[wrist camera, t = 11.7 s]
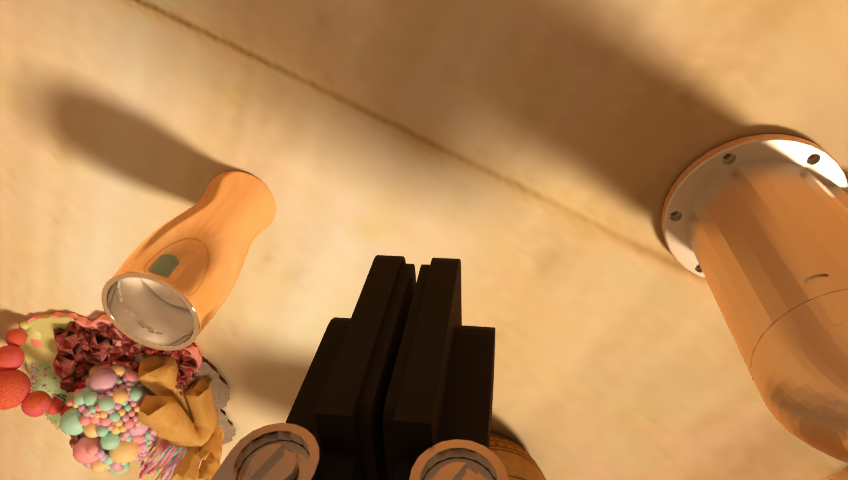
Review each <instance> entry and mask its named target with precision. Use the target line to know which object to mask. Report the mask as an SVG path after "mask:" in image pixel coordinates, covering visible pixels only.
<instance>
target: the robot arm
mask: <svg viewBox="0 0 848 480" xmlns="http://www.w3.org/2000/svg"><path fill="white" fill-rule="evenodd" d="M726 154H728V155H727V156H725V155H726ZM724 156H725V157H724ZM661 227H662V231H663V236H664V240H665V242H666V244H667V246H668V249H669V251H670V252H671V254H672V255H673V257H674V258H675V260H676V261H677V262H678V263H679V264H681V265H682V266H683V267H684V268H685V269H686V270H688V271H689V272H691V273H693V274H694V275H696V276H699V277H702V278H705V279H706V280H707V282H708V284H709V286H710V289H711V291H712V293H713V295H714V297H715V299H716V301H717V304H718V306H719V308H720V310H721V312H722V314H723V316H724V318H725V321H726V323H727V325H728V327H729V329H730V331H731V333H732V336H733V338H734V340H735V342H736V344H737V346H738V348H739V351H740V353H741V355H742V357H743V359H744V361H745V363H746V366H747V368H748V370H749V372H750V374H751V376H752V378H753V380H754V382H755V384H756V387H757V389H758V391H759V393H760V395H761V397H762V399H763V401H764V402H765V404H766V406H767V407H768V409H769V411H770V412H771V413H772V414H773V416H774V417H775V418H776V419H777V420H778V422H779V423H781V424H782V425H783V426H784V427H785V428H786V429H787V430H788V431H789V432H790V433H792V434H793V435H794V436H796V437H797V438H799V439H800V440H802V441H803V442H805V443H807V444H808V445H810V446H812V447H813V448H815V449H817V450H819V451H821V452H823V453H825V454H827V455H829V456H832V457H834V458H836V459H838V460H840V461H843V462H845V463H848V182H847V178H846V175H845V173H844V171H843V170H842V168H841V167H840V165H839V164H838V162H837V161H836V160H835V159H834V158H833V157H832V156H831V155H830V154H829V153H828V152H826V151H825V150H824V149H822V148H821V147H819V146H818V145H816V144H815V143H813V142H810V141H808V140H805V139H802V138H800V137H796V136H790V135H784V134H760V135H754V136H747V137H743V138H740V139H736V140H733V141H730V142H727V143H725V144H723V145H721V146H719V147H717V148H715V149H712V150H710V151H709V152H707V153H706V154H704V155H703V156H701V157H700V158H698V159H697V160H696V161H694V162H693V163H692V164H691V165H690V166H689V167H688V168H687V169H686V170H685V171H684V172H683V173H681V175H680V176H679V177H678V179H677V180H676V181H675V183H674V184H673V185H672V187H671V189H670V191H669V193H668V195H667V197H666V199H665V202H664V206H663V210H662V221H661ZM494 355H495V328H492V327H477V326H462V316H461V261H460V259H449V258H432V261H431V265H421V268H420V271H419V275H418V279H417V283H416V275H415V266H414V264H406V262H405V258H404V257H403V256H384V255H377V256H376V257H375V258H374V261H373V263H372V266H371V268H370V271H369V274H368V276H367V279H366V281H365V284H364V286H363V289H362V291H361V294H360V297H359V299H358V302H357V304H356V307H355V309H354V312H353V315H352V317H351V318H335V317H334V318H333V319H332V320H331V321H330V323H329V324H328V327H327V329H326V331H325V333H324V336H323V338H322V340H321V343H320V345H319V347H318V349H317V352H316V354H315V356H314V359H313V361H312V363H311V366H310V368H309V370H308V372H307V375H306V377H305V379H304V382H303V384H302V386H301V388H300V391H299V393H298V395H297V398H296V400H295V402H294V404H293V407H292V409H291V411H290V414H289V416H288V418H287V421H286V423H278V424H272V425H266V426H264V427H262V428H259V429H257V430H254V431H252V432H251V433H250V434H248V435H247V436H245V437H244V438H242V439H241V440H240V441H239V442H238V443H237V444H236V446H235V447H234V448H233V449H232V450H231V451H230V453H229V454H228V456H227V457H226V458H225V460H224V461H223V463H222V464H221V466H220V467H219V469H218V470H217V472H216V473H215V474H214V476H213V477H212V479H211V480H509V478H508V475H507V472H506V469H505V466H504V465H503V463H502V462H501V461H500V459H499V458H498V456H497V455H496V454H495V453H493V452H492V451H491V450H490V434H491V417H492V400H493V380H494ZM824 480H848V466H847V467H845V468H844V469H843V470H841V471H839V472H838V473H836V474H834V475H832V476H830V477H828V478H826V479H824Z"/></svg>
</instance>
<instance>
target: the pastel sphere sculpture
mask: <svg viewBox="0 0 848 480" xmlns="http://www.w3.org/2000/svg"><path fill="white" fill-rule="evenodd" d="M19 328H20V329H13V330H11V331H9V332H8V334H7V335H6V338H5V340H6V342H7V344H8V345H7V346H3V347H1V348H0V409H1V410H6V409H10V408H13V407H17V406H18V405H19V404H21V403H22V404H21V407H22V411H23V412H24V413H25V414H26V415H28V416H31V417H37V416H40V415H43V414H44V413H45V415H44V416H46V417H47V419H48V418H49V419H50V420H49V421H50V422H51V421H52V422H51V423H53V424H54V426H57V427H58V428H57V427H56V428H57V430H60V429H61V430H62V431H63V432H64V433H65V434H67V435H70V436H71V440H70V445H71V448H72V449H73V456H74V458H75V459H76V461H78V462H79V463H83V464H84V466H85V467H87V468H91V470H92V471H93V472H101V471H103V470H104V469H107V470H108V471H109V472H110V473H112V474H116V475H117V474H123V473H125V472H126V471H128V470H129V467H130V463H129V462H131V461H137V460H139V461H141V460H142V459H143V460H142V462H141V464H142V465H141V467H142V466H143V465H144V466H145V467H144V470H142V471H141V473H140V477H139V478H142V476H143V475H145V474H150V472H151V471H152V473H151V475H152V477H153V476H154V474H155V473H156V472H157V474H158V472H159V469H161V468H163V467H164V466H165V467H164V468H163V469H162V471H161V472H160V474H159V475H158V477H157V478H156V480H162V479H163V478H164V477H165V476H166V475H167V473H168V472H169V471H170V472H169V475H168V476H167V477H166V479H165V480H211V479H212V477H213V476H214V474H215V473H216V472H217V470H218V469H219V466H220V457H221V453H222V445H223V444H225V443H228V442H230V441H232V437H233V436H234V435H235V428H234V427H233V426H232V425H231V424H230V423H229V422H228V418H227V416H225V415H224V414H223V413H222V412H221V411H220V409H222V408H224V407H226V405H227V403H226V402H227V401H228V400H229V399H230V397H229V391H228V386H227V385H226V384H225V383H224V382H222V381H221V380H220V378H219V374H218V373H217V372H216V371H215V370H213V369H212V368H211V367H210V366H209V365H208V364H207V363H206V362H202V357H201V355H200V354H199V351H198V349H197V347H196V346H194V345H192V344H191V345H189V346H187V347H185V348H183V349H179V350H173V351H165V350H157V349H153V348H149V347H146V346H144V345H141V344H139V343H137V342H135V341H133V340H132V339H130V338H129V337H127V336H126V335H124V334H123V333H122V332H121V331H120V330H118V329H117V328H116V327H115V325H114V324H113V323H112V322H111V321H110V319H109V318H108V316H107V315H105V314H103V315H101V316H100V317H98V318H97V319H96V320H93V321H91V320H89V319H87V318H86V317H81V316H79V315H77V314H76V313H74V312H71V313H63V312H58V311H57V312H54V313H53V314H43V315H34V316H33V317H32V318H30V319H29V320H28V321H23V322H21V323H20V324H19ZM24 359H25V360H26V362H27V368H28V370H29V371H30V373H31V375H30V376H31V377H30V379H29V378H28V376H27V375H26V374H25V373H24V372H22V371H20V370H16V369H17V368H19V367H20V366H21V365H22V363H23V362H24ZM32 378H33V379H32ZM31 381H33V384H32V382H31ZM31 388H32V389H31ZM30 389H31V390H30ZM30 392H31V393H30ZM143 457H144V458H143ZM201 459H202V463H201V466H200V469H198V467H199V464H200V462H201ZM160 466H161V467H160ZM154 467H155V468H154Z"/></svg>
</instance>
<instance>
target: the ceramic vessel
mask: <svg viewBox="0 0 848 480" xmlns="http://www.w3.org/2000/svg"><path fill="white" fill-rule="evenodd" d="M490 450H491V451H492V452H493V453H495V454H496V455H497V456H498V458H499V459H500V461H501V462H502V463H503V465H504V466H505V469H506V472H507V475H508V478H509V480H546V479H545V477H544V475H543V473H542V471H541V470H540V468H539V467H538V465H537V464H536V462H535V461H534V460H533V458H532V457H531V456H530V455H529V454H528V453H527V452H526V451H525V450H524V449H523V448H522V447H521V446H520V445H518V444H517V443H515V442H514V441H512V440H510V439H508V438H506V437H504V436H502V435H500V434H498V433H494V432H491V434H490Z"/></svg>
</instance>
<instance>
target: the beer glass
mask: <svg viewBox="0 0 848 480" xmlns="http://www.w3.org/2000/svg"><path fill="white" fill-rule="evenodd" d="M275 214H276V204H275V200H274V197H273V195H272V193H271V192H270V190H269V189H268V188H267V186H266V185H265V184H264V183H263V182H262V181H260V180H259V179H258V178H256V177H254V176H252V175H250V174H248V173H245V172H241V171H227V172H223V173H221V174H219V175H217V176H216V177H215V178H214V179H213V180H212V181H211V182H210V184H209V185H208V187H207V189H206V191H205V193H204V195H203V197H202V198H201V199H200V201H199V202H198V203H196V204H195V205H194V206H192V207H191V208H189V209H188V210H186V211H184V212H183V213H181V214H179V215H178V216H176V217H175V218H173V219H171V220H170V221H168V222H167V223H165V224H164V225H162V226H161V227H160V228H158V229H157V230H155V231H154V232H153V233H152V234H151V235H150V236H148V237H147V238H146V239H145V240H144V241H143V242H142V243H141V244H140V245H139V246H138V247H137V248H136V249H135V250H134V251H133V252H132V254H131V255H130V256H129V257H128V258H127V259H126V261H125V262H124V263H123V264H122V265H121V267H120V268H119V269H118V271H117V272H116V273H115V274H114V276H113V277H112V278H111V279H110V280H109V281H108V282H107V283H106V284H105V286H104V288H103V291H102V304H103V308H104V310H105V313H106V314H107V316H108V318H109V319H110V321H111V322H112V323H113V324H114V325H115V327H116V328H117V329H118V330H120V331H121V332H122V333H123V334H124V335H126V336H127V337H129V338H130V339H132V340H133V341H135V342H137V343H139V344H141V345H144V346H146V347H149V348H153V349H157V350H165V351H173V350H179V349H183V348H185V347H187V346H189V345H191V344H192V343H193V342H194V341H195V340H196V338H197V336H198V335H199V334H200V333H201V331H202V330H203V329H204V328H205V327H206V326H207V324H208V323H209V322H210V321H211V320H212V318H213V317H214V316H215V315H216V313H217V312H218V311H219V309H220V308H221V307H222V305H223V304H224V302H225V301H226V299H227V298H228V296H229V294H230V293H231V291H232V289H233V288H234V286H235V283H236V281H237V279H238V277H239V275H240V272H241V269H242V267H243V264H244V261H245V259H246V256H247V253H248V250H249V248H250V246H251V244H252V242H253V240H254V239H255V238H256V236H257V235H258V234H260V233H261V232H262V231H263V230H265V229H266V228H267V227H268V226H269V225H270V224H271V223H272V222H273V220H274V217H275Z"/></svg>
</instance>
